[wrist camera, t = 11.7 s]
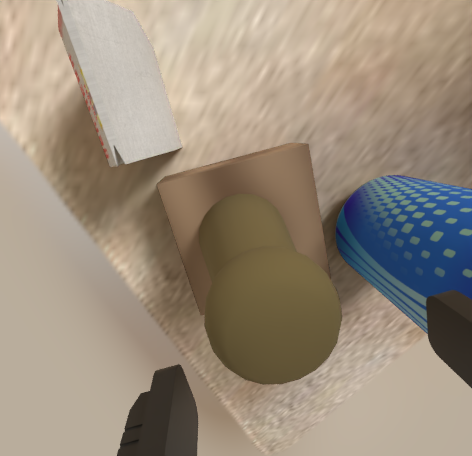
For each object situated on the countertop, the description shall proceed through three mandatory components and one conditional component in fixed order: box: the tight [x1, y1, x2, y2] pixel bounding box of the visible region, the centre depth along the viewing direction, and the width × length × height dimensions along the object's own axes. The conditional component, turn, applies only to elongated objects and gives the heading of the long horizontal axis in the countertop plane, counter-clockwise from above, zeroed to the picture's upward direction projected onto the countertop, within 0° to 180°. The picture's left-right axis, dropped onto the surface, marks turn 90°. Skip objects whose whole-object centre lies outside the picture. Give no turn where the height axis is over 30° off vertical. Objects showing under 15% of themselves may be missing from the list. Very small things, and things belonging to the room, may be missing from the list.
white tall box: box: [56, 0, 182, 167], centre depth 16 cm, size 4×7×10 cm, turn 14°
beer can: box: [335, 175, 472, 334], centre depth 18 cm, size 8×8×16 cm
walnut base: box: [157, 143, 331, 315], centre depth 22 cm, size 10×10×4 cm
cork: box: [199, 194, 342, 384], centre depth 15 cm, size 6×6×11 cm
